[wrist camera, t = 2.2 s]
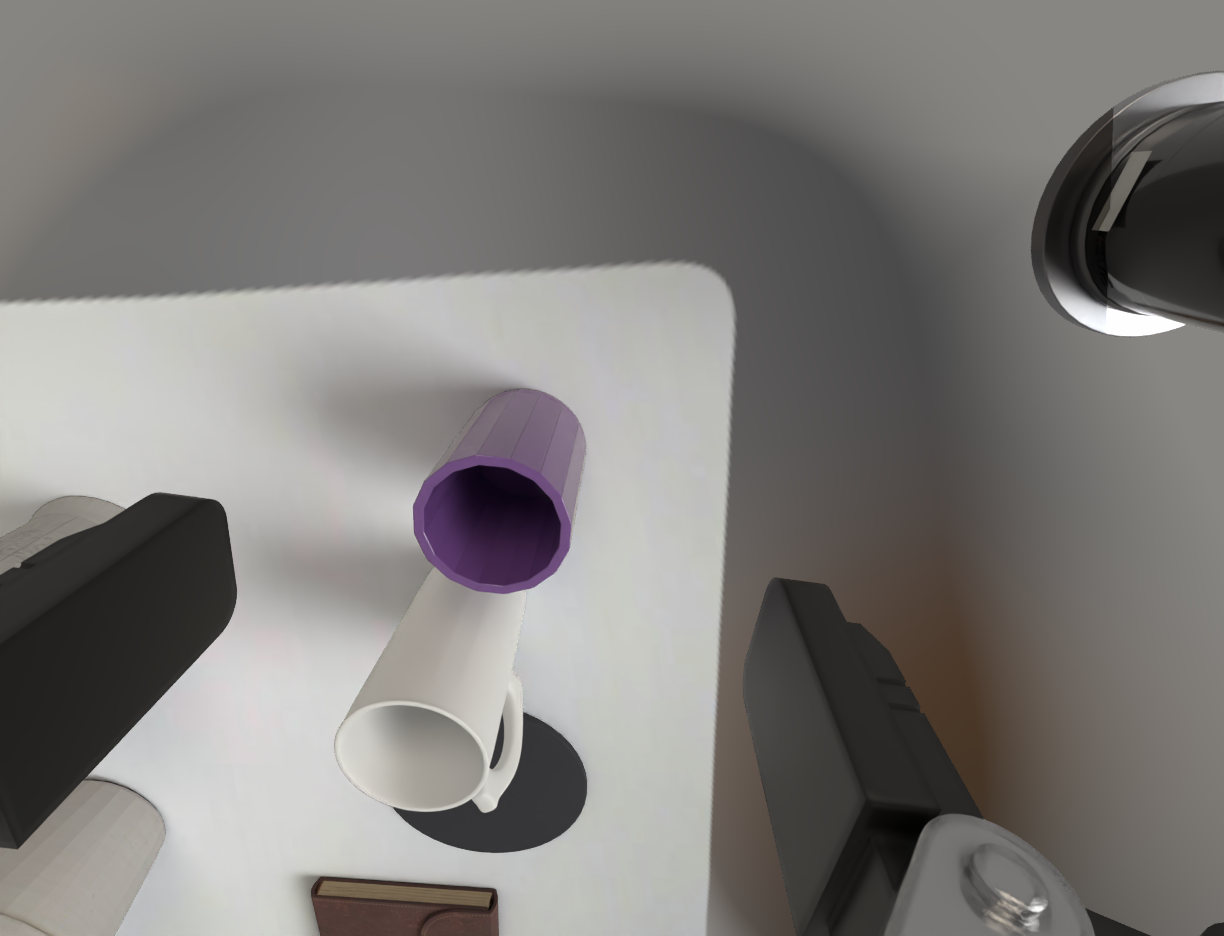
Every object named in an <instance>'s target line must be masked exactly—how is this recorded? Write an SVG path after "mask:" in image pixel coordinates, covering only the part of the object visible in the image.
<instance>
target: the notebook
mask: <svg viewBox="0 0 1224 936" xmlns="http://www.w3.org/2000/svg"><path fill="white" fill-rule="evenodd" d="M311 898H312V902H313V906H314V910H315V914H316V919H317V923H318V927H319V931H320V936H499V925H498V896H497V892H496V890H495V889H485V888H471V887H457V886H443V885H429V884H415V883H401V882H387V881H373V880H359V879H345V878H331V877H320V878H319V879H318V880H317V881H316V882H315V883H314V885H313V887H312V889H311Z"/></svg>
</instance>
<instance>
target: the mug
mask: <svg viewBox="0 0 1224 936" xmlns="http://www.w3.org/2000/svg"><path fill="white" fill-rule="evenodd" d="M525 606H526V593H525V590H522V591H517V592H513V593H509V594H497V593H488V592H478V591H474V590H472V589H470V588H467V587H465V586H463V585H461V584H458V583H456V582H454V581H452V580H449V578H447V577H446V576H444V575H443V574H442V573H441V572H440V571H439V570H438V569H437V568H436V567H434V568H433V569H432V570H431V572H430V573H429V575H428V576H427V578H426V579H425V581H424V583H423V584H422V586H421V587H420V589H419V591H418V592H417V594H416V596H415V598H414V599H413V601H412V603H411V605H410V606H409V608H408V610H407V611H406V613H405V615H404V617H403V618H402V620H401V622H400V624H399V625H398V627H397V629H396V631H395V632H394V634H393V636H392V637H391V639H390V641H389V642H388V644H387V646H386V648H385V649H384V651H383V653H382V654H381V656H380V658H379V660H378V661H377V663H376V665H375V666H374V668H373V670H372V672H371V673H370V675H369V677H368V678H367V680H366V682H365V683H364V685H363V687H362V689H361V690H360V692H359V694H358V696H357V697H356V699H355V701H354V703H353V704H352V706H351V708H350V710H349V712H348V713H347V715H346V717H345V719H344V721H343V722H342V724H341V725H340V727H339V729H338V731H337V733H336V737H335V742H334V750H335V756H336V759H337V762H338V764H339V766H340V768H341V770H342V772H343V773H344V775H345V776H346V777H347V778H348V780H349V781H350V782H351V783H352V784H353V785H354V786H355V787H357V788H358V789H359V790H360V791H362V792H363V793H365V794H366V795H368V796H369V797H371V798H373V799H375V800H377V801H379V802H381V803H384V804H386V805H389V806H392V807H396V808H399V809H404V810H410V811H420V812H432V811H441V810H447V809H451V808H454V807H457V806H459V805H462V804H464V803H465V802H467V801H469V800H470V799H472V800H473V802H474V803H475V804H476V805H477V806H478V808H479V809H480V811H481V812H483V813H487V812H490V811H492V810H494V809H495V808H496V807H497V804H498V800H499V798H500V796H501V795H502V794H503V792H504V791H505V790H506V788H507V787H508V785H509V784H510V782H511V780H512V778H513V777H514V775H515V772H516V770H517V767H518V763H519V759H520V754H521V748H522V737H523V688H522V682H521V680H520V678H519V677H518V676H517V675H516V674H515V673H514V671H513V670H512V666H513V662H514V658H515V653H516V649H517V645H518V640H519V636H520V631H521V627H522V621H523V616H524V611H525ZM502 714H503V720H504V744H503V750H502V754H501V757H500V759H499V762H498V763H497V765H496V766H495V767H494V769H490V768H489V766H490V763H491V759H492V755H493V752H494V747H495V743H496V739H497V734H498V730H499V725H500V721H501V716H502Z"/></svg>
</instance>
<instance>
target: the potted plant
mask: <svg viewBox="0 0 1224 936" xmlns="http://www.w3.org/2000/svg"><path fill="white" fill-rule="evenodd" d="M165 834H166V831H165V826H164V821H163V819H162V818H161V816H160V814H159V812H158V811H157V810H156V809H155V808H154V807H153V806H152V805H151V804H150V803H149V802H148V801H147V800H145V799H144V798H142V797H141V796H140V795H138V794H137V793H135V792H133V791H131V790H129V789H127V788H124V787H122V786H119V785H115V784H112V783H109V782H102V781H90V780H83V781H82V782H81V783H80V784H79V785H78V786H77V787H76V788H75V789H74V791H73V792H72V793H71V794H70V795H69V796H68V797H67V798H66V799H65V800H64V801H63V802H62V803H61V804H60V805H59V807H58V808H57V809H56V810H55V811H54V812H53V813H52V814H51V815H50V816H49V817H48V818H47V819H46V820H45V821H44V822H43V824H42V825H41V826H40V827H39V828H38V829H37V830H36V831H35V832H34V833H33V834H32V835H31V836H30V837H29V838H28V839H27V841H26V842H25V843H24V844H23V845H22V846H21V847H20V848H19V849H18V850H17V849H9V848H0V936H115V934H116V932H117V930H118V928H119V926H120V925H121V923H122V921H123V919H124V917H125V915H126V913H127V912H128V910H129V908H130V906H131V904H132V902H133V900H134V899H135V897H136V895H137V893H138V891H139V889H140V887H141V886H142V884H143V882H144V880H145V878H146V876H147V874H148V872H149V871H150V869H151V867H152V865H153V863H154V861H155V859H156V857H157V855H158V853H159V851H160V848H161V846H162V844H163V842H164V838H165Z"/></svg>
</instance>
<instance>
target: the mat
mask: <svg viewBox="0 0 1224 936" xmlns="http://www.w3.org/2000/svg"><path fill="white" fill-rule="evenodd" d="M503 744H504V720H503V714H502V716H501V721H500V725H499V730H498V734H497V739H496V743H495V747H494V752H493V755H492V759H491V763H490V766H489V768H490V769H494V767H495V766H496V765H497V763H498V762H499V759H500V757H501V754H502V750H503ZM586 794H587V778H586V772H585V769H584V766H583V763H582V761H581V759H580V757H579V756H578V754H577V752H576V751H575V750H574V748H573V747H572V746H571V744H570V743H569V742H568V741H567V740H566V739H565V738H564V737H563V736H562V735H561V734H559V733H558V732H557V731H556V730H554V729H553V728H552V727H550V726H549V725H547V724H545V723H544V722H542V721H540V720H538V719H536V718H534V717H532V716H530V715H528V714H525V713H523V737H522V748H521V754H520V759H519V763H518V767H517V770H516V772H515V775H514V777H513V778H512V780H511V782H510V784H509V785H508V787H507V788H506V790H505V791H504V792H503V794H502V795H501V796H500V798H499V800H498V804H497V807H496V808H495V809H494V810H492V811H490V812H487V813H483V812H481V811H480V809H479V808H478V806H477V805H476V804H475V803H474V802H473V800H472V799H470V800H469V801H467V802H465V803H464V804H462V805H459V806H457V807H454V808H451V809H447V810H441V811H432V812H420V811H410V810H404V809H399V808H396V807H393V808H394V809H395V811H396V812H397V813H398V814H399V815H400V816H401V817H402V818H403V819H404V820H405V821H406V822H408V823H409V824H410V825H411V826H412V827H414V828H415V829H417V830H418V831H420V832H421V833H423V834H425V835H427V836H429V837H431V838H433V839H435V840H437V841H440V842H442V843H444V844H447V845H450V846H454V847H457V848H461V849H466V850H470V851H478V852H489V853H504V852H515V851H521V850H526V849H530V848H534V847H537V846H540V845H542V844H545V843H547V842H549V841H551V840H553V839H555V838H556V837H558V836H560V835H561V834H562V833H564V832H565V831H566V830H567V829H569V828H570V826H571V825H572V824H573V823H574V822H575V821H576V819H577V818H578V816H579V815H580V813H581V811H582V809H583V806H584V804H585V799H586Z"/></svg>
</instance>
